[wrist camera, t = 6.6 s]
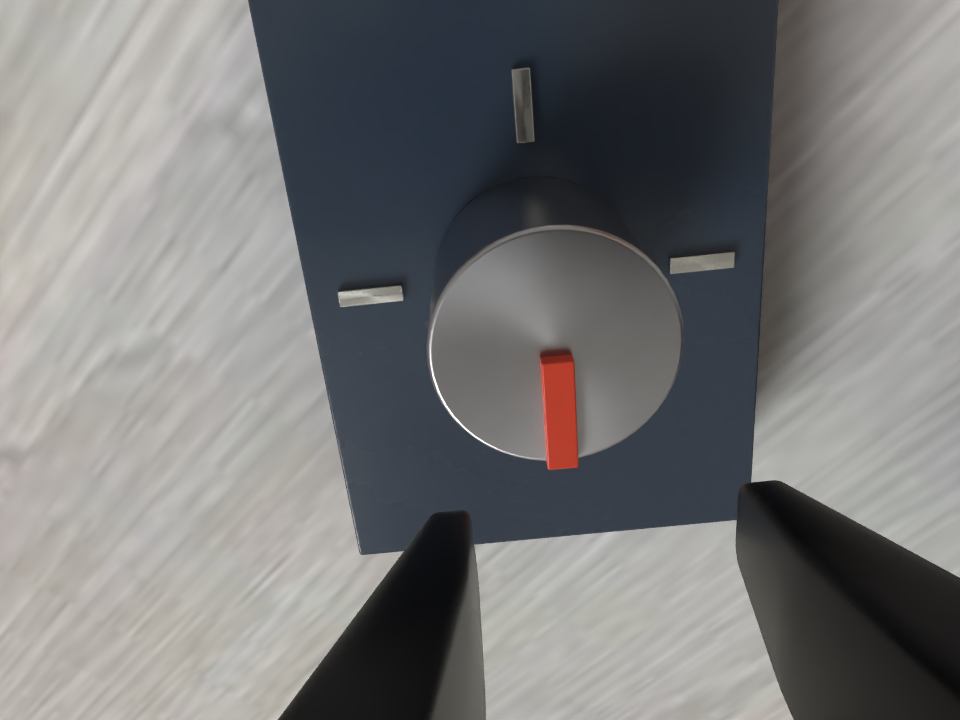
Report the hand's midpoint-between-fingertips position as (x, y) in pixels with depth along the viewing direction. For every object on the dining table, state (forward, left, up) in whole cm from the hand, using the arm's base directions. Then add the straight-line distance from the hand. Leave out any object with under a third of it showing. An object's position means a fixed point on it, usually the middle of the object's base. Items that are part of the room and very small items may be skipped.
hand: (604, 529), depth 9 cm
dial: (0, 0, -9) cm, 9 cm away
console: (0, 0, -12) cm, 12 cm away
